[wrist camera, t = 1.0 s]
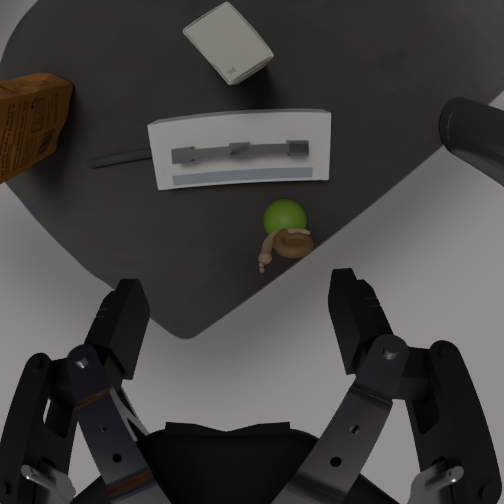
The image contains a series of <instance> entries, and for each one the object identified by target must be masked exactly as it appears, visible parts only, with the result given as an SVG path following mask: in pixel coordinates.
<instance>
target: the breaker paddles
mask: <svg viewBox="0 0 504 504" xmlns="http://www.w3.org/2000/svg"><path fill="white" fill-rule="evenodd" d="M278 153H287V155H289V156H309V140H286V143H282V144H255V145H249V142H237V143H229V146H224V147H212V148H202V149H194V146H192V147H183V148H176V149H171V155H172V164H180V163H189V162H193V161H195V159H200V158H211V157H223V156H230V159H236V158H250V155H254V154H278Z"/></svg>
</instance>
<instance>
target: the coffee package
mask: <svg viewBox="0 0 504 504" xmlns="http://www.w3.org/2000/svg"><path fill="white" fill-rule="evenodd" d="M72 91H73V85H72V84H71V83H70V82H69V81H67V80H64V79H62V78H60V77H58V76H56V75H54V74H51V73H47V74H46V73H36V74H30V75H27V76H23V77H20V78H16V79H13V80H11V81H4V80H3V81H0V184H2V183H3V182H5V181H7V180H9V179H11V178H13V177H15V176H17V175H19V174H20V173H23V172H25V171H27V170H28V169H29V168H30V167H32V166H33V165H34V164H36V163H37V162H39V161H41V160H42V159H44V158H45V157H47V156H49V155H50V154H52V153H54V152H55V151H56V147H57V141H58V136H59V133H60V132H61V130H62V128H63V126H64V124H65V122H66V120H67V117H68V113H69V103H70V98H71V95H72Z"/></svg>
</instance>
